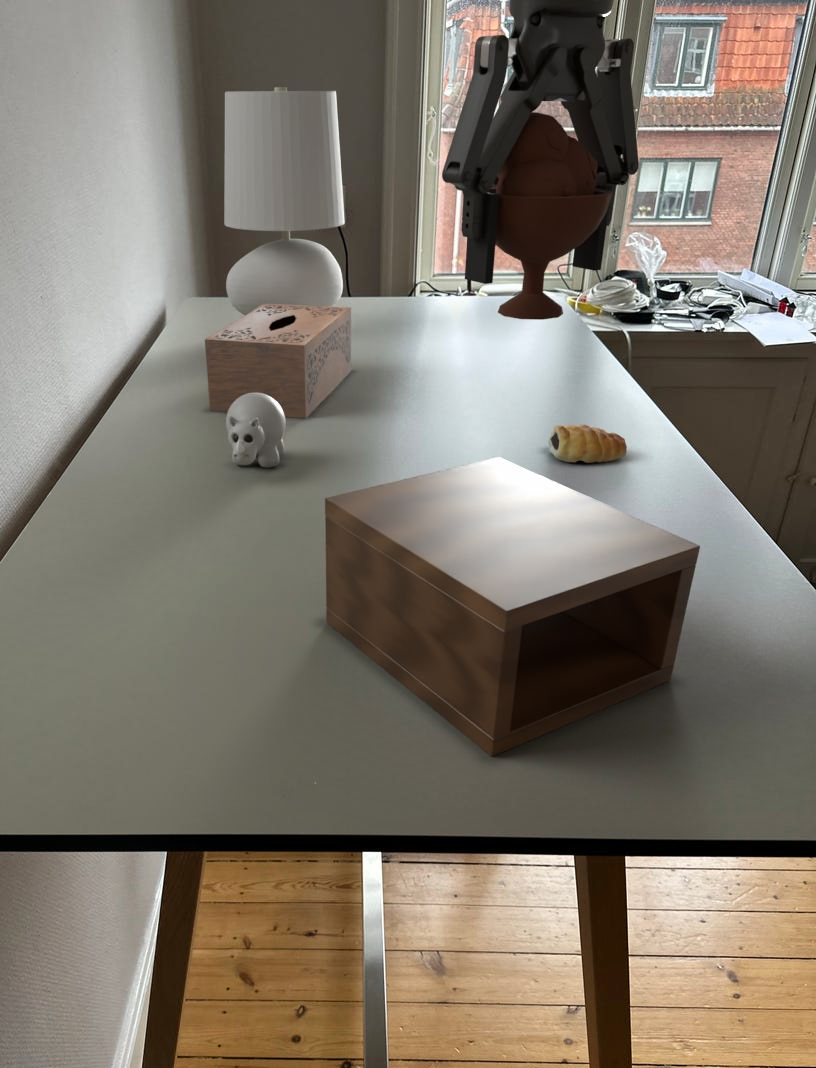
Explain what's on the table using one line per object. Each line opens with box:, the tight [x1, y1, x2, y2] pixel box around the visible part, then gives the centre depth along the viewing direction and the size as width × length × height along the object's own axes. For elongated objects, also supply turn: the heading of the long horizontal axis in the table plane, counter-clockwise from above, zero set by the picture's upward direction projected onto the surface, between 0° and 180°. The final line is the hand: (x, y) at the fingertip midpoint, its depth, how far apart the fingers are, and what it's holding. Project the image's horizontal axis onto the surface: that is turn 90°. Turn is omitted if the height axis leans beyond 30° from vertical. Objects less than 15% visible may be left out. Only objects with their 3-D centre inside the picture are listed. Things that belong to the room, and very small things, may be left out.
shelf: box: [324, 456, 701, 757], centre depth 72 cm, size 22×18×12 cm
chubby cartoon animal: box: [225, 393, 287, 469], centre depth 109 cm, size 7×12×8 cm, turn 169°
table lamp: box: [223, 86, 346, 316], centre depth 164 cm, size 23×22×40 cm
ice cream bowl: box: [489, 111, 613, 320], centre depth 75 cm, size 11×11×15 cm
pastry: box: [547, 424, 628, 463], centre depth 114 cm, size 9×7×4 cm
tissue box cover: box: [204, 304, 352, 419], centre depth 138 cm, size 26×14×10 cm, turn 165°
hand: (534, 274), depth 77 cm, fingers closed on ice cream bowl, 11 cm apart
